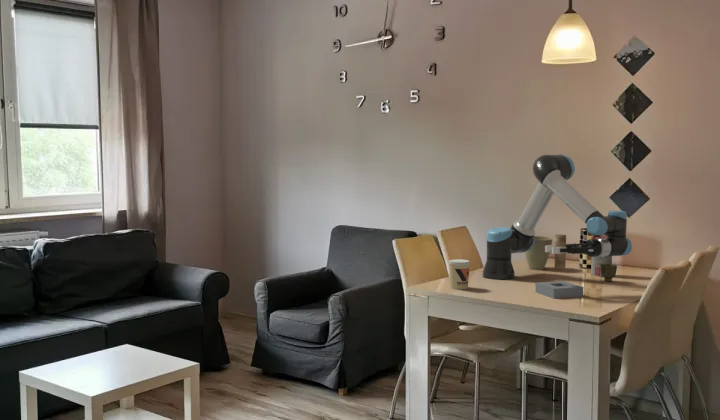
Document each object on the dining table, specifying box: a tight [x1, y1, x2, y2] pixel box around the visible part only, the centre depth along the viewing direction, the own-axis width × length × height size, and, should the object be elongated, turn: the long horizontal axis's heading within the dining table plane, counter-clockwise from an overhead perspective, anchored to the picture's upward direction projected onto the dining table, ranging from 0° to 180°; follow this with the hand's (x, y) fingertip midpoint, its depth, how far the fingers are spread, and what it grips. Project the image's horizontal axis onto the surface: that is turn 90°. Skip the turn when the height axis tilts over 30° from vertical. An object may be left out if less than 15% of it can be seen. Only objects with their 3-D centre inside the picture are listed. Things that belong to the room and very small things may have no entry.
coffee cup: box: [448, 258, 471, 290], centre depth 307 cm, size 9×9×12 cm
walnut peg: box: [553, 234, 567, 270], centre depth 293 cm, size 4×4×14 cm
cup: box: [600, 263, 618, 283], centre depth 325 cm, size 8×7×8 cm
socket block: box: [535, 280, 584, 299], centre depth 294 cm, size 14×14×4 cm
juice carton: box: [590, 234, 613, 278], centre depth 340 cm, size 7×7×22 cm
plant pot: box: [524, 235, 553, 270], centre depth 360 cm, size 15×15×16 cm
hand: (549, 249), depth 291 cm, fingers closed on walnut peg, 4 cm apart
